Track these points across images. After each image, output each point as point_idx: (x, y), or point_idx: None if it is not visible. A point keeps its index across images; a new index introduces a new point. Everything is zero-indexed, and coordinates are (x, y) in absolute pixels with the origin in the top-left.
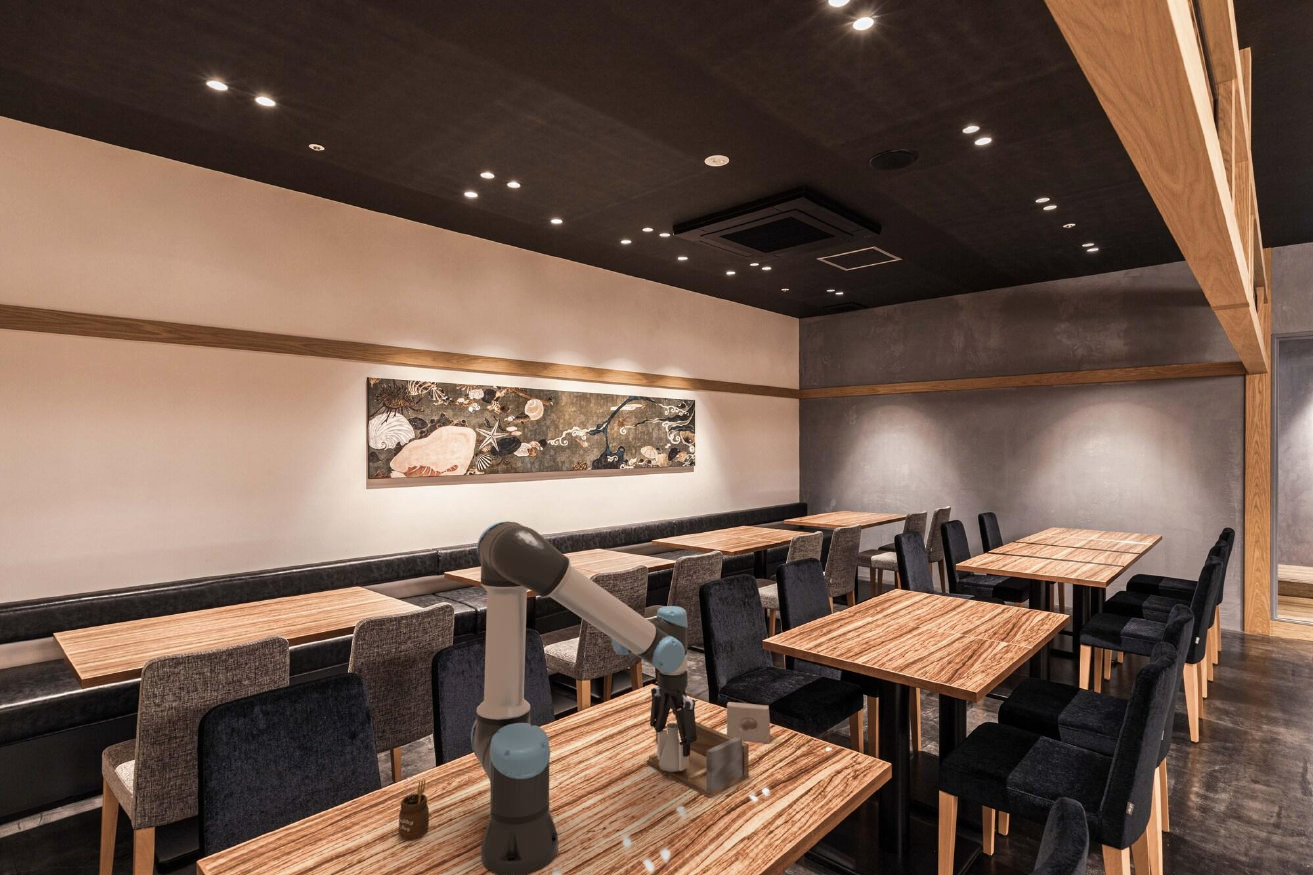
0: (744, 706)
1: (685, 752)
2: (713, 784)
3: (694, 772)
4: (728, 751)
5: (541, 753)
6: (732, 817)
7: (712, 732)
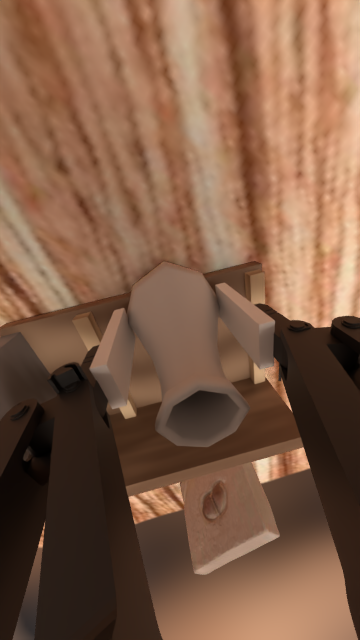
0: (237, 549)
1: (89, 357)
2: None
3: None
4: None
5: None
6: None
7: (169, 473)
